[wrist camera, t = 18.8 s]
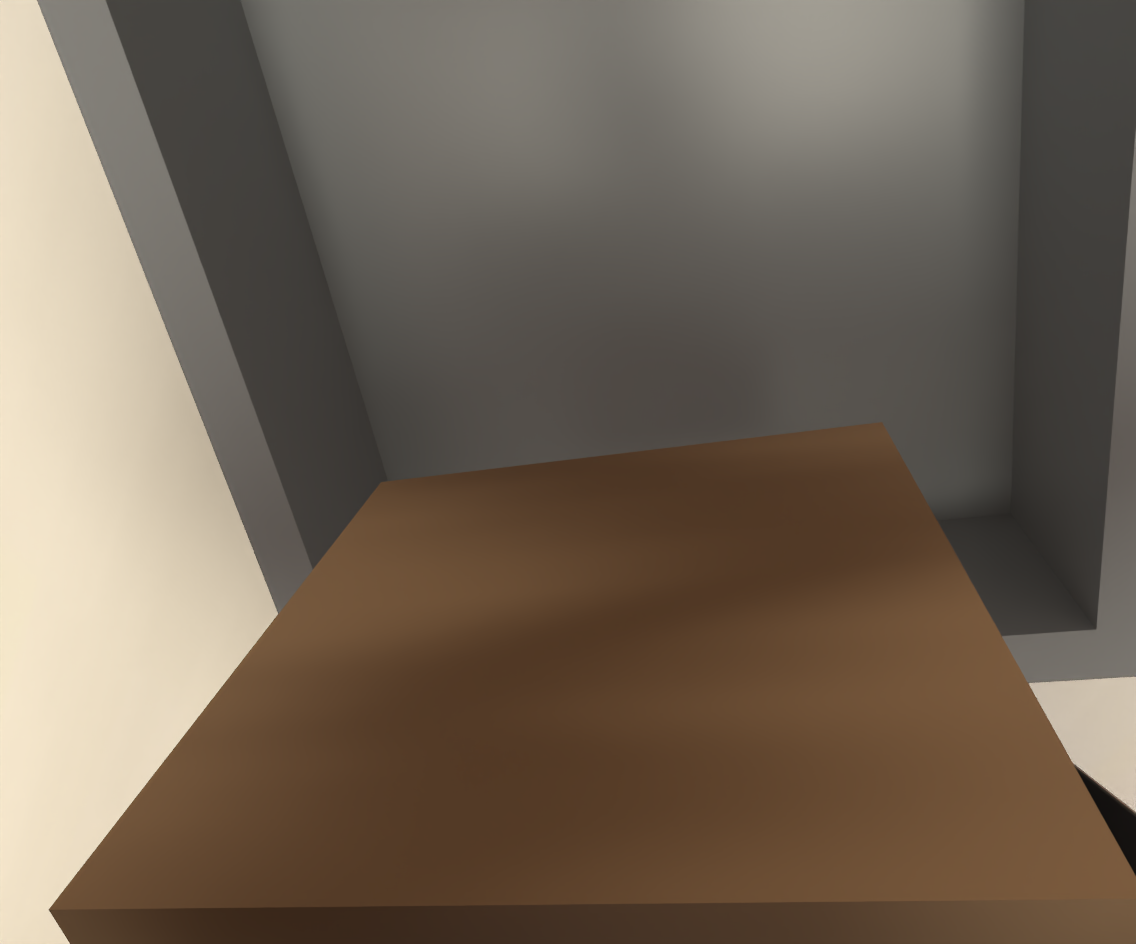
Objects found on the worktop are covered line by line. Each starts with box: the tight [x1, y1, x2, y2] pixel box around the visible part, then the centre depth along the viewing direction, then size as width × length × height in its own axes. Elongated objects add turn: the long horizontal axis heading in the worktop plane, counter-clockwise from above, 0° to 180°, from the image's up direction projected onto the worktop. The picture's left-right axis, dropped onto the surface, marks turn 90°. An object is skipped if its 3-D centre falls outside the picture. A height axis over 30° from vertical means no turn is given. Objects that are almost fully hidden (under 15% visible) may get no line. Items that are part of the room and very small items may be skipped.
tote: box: [37, 0, 1136, 683], centre depth 13 cm, size 22×15×5 cm
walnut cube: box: [49, 422, 1136, 944], centre depth 7 cm, size 5×5×5 cm
